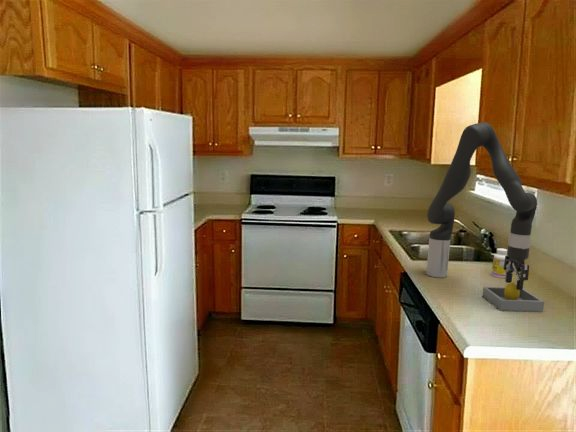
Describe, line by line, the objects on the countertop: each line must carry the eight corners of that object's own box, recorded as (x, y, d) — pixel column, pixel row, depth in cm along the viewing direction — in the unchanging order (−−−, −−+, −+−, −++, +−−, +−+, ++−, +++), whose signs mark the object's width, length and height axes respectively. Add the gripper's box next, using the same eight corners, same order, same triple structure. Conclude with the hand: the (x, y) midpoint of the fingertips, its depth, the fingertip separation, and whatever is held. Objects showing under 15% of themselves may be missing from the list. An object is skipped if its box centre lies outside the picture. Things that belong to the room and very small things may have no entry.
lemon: (520, 303, 188) (522, 283, 187) (515, 306, 184) (517, 285, 183) (506, 299, 192) (508, 279, 191) (500, 302, 188) (502, 282, 187)
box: (482, 296, 195) (483, 286, 195) (521, 297, 196) (522, 288, 195) (500, 310, 180) (501, 300, 179) (542, 311, 180) (544, 301, 180)
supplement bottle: (490, 273, 230) (493, 247, 227) (504, 274, 229) (507, 248, 226) (493, 277, 223) (496, 250, 221) (508, 278, 222) (512, 251, 220)
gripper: (500, 240, 191) (495, 280, 194) (518, 249, 177) (513, 292, 180) (519, 241, 191) (514, 280, 194) (538, 250, 177) (533, 292, 180)
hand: (513, 286), depth 187 cm, fingers open, 8 cm apart
